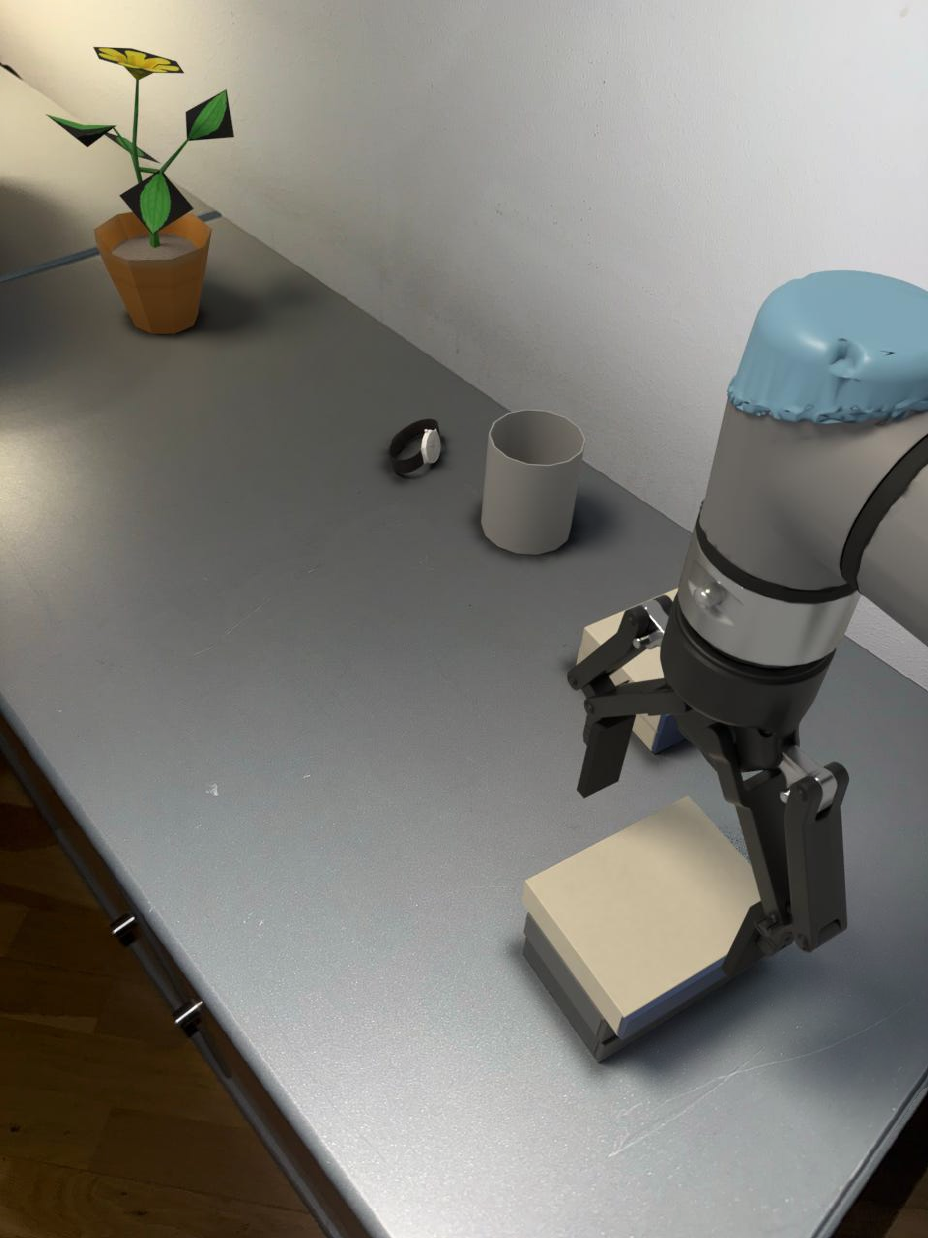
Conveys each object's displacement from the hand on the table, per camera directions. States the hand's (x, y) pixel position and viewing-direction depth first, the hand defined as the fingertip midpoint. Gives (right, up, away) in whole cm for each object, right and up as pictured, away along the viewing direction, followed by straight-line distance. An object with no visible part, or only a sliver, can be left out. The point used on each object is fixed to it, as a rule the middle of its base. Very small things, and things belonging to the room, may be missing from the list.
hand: (665, 869), depth 64 cm
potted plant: (-46, +49, +61) cm, 90 cm away
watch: (-17, +31, +44) cm, 57 cm away
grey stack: (0, -7, +7) cm, 10 cm away
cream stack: (+5, +10, +25) cm, 27 cm away
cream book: (0, -4, +4) cm, 5 cm away
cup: (-6, +23, +38) cm, 45 cm away
